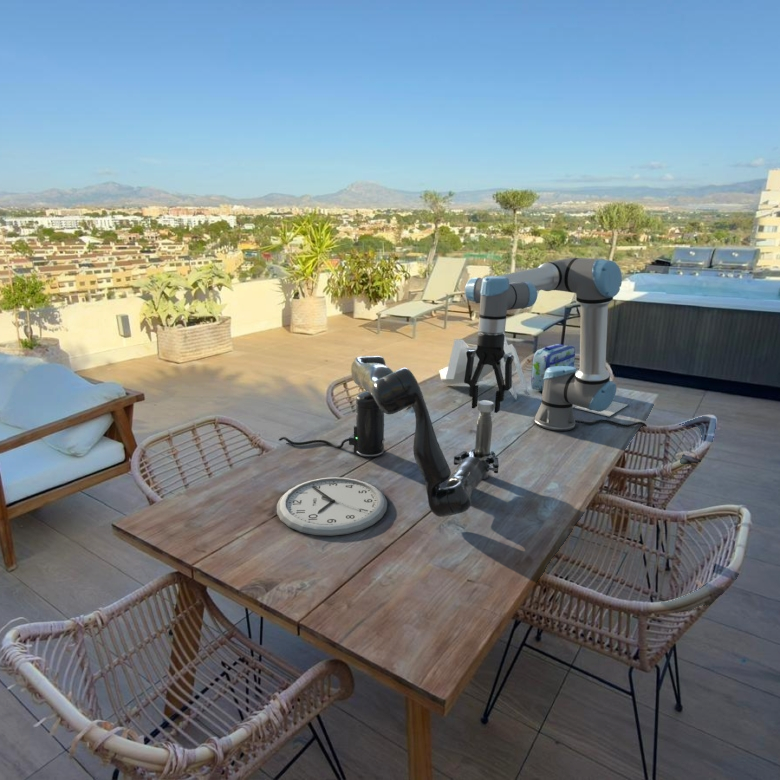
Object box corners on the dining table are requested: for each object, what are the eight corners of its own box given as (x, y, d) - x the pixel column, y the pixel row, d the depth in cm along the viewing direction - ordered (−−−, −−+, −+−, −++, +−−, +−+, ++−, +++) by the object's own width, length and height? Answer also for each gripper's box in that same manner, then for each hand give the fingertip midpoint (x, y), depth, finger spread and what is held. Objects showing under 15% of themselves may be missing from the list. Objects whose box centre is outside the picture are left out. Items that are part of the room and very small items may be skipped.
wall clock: (392, 527, 129) (268, 531, 127) (391, 533, 130) (269, 537, 127) (383, 473, 158) (282, 475, 155) (383, 478, 158) (282, 480, 156)
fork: (403, 410, 217) (403, 406, 216) (415, 399, 231) (415, 395, 231) (409, 411, 216) (409, 406, 215) (420, 400, 230) (420, 395, 230)
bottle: (488, 473, 163) (494, 403, 156) (487, 479, 159) (493, 408, 152) (473, 471, 164) (478, 401, 157) (472, 477, 160) (477, 406, 153)
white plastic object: (461, 429, 252) (437, 405, 227) (444, 352, 274) (420, 323, 250) (535, 404, 240) (518, 377, 215) (510, 326, 262) (492, 293, 237)
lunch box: (547, 396, 238) (552, 351, 232) (526, 391, 246) (531, 347, 239) (574, 385, 256) (579, 343, 250) (554, 380, 263) (559, 340, 257)
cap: (495, 412, 153) (495, 404, 153) (480, 412, 153) (481, 405, 152) (490, 407, 157) (491, 400, 157) (476, 407, 157) (476, 400, 156)
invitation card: (608, 416, 214) (573, 407, 224) (608, 416, 214) (573, 408, 224) (628, 404, 229) (594, 396, 238) (628, 405, 229) (594, 397, 238)
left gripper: (494, 467, 143) (508, 445, 158) (444, 457, 149) (462, 437, 164) (492, 492, 145) (506, 468, 160) (443, 481, 151) (461, 459, 166)
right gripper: (528, 334, 147) (521, 411, 154) (464, 326, 156) (460, 400, 163) (521, 338, 140) (513, 419, 147) (454, 330, 150) (450, 406, 156)
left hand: (484, 452), depth 162 cm, fingers closed on bottle, 4 cm apart
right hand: (485, 409), depth 155 cm, fingers open, 6 cm apart
